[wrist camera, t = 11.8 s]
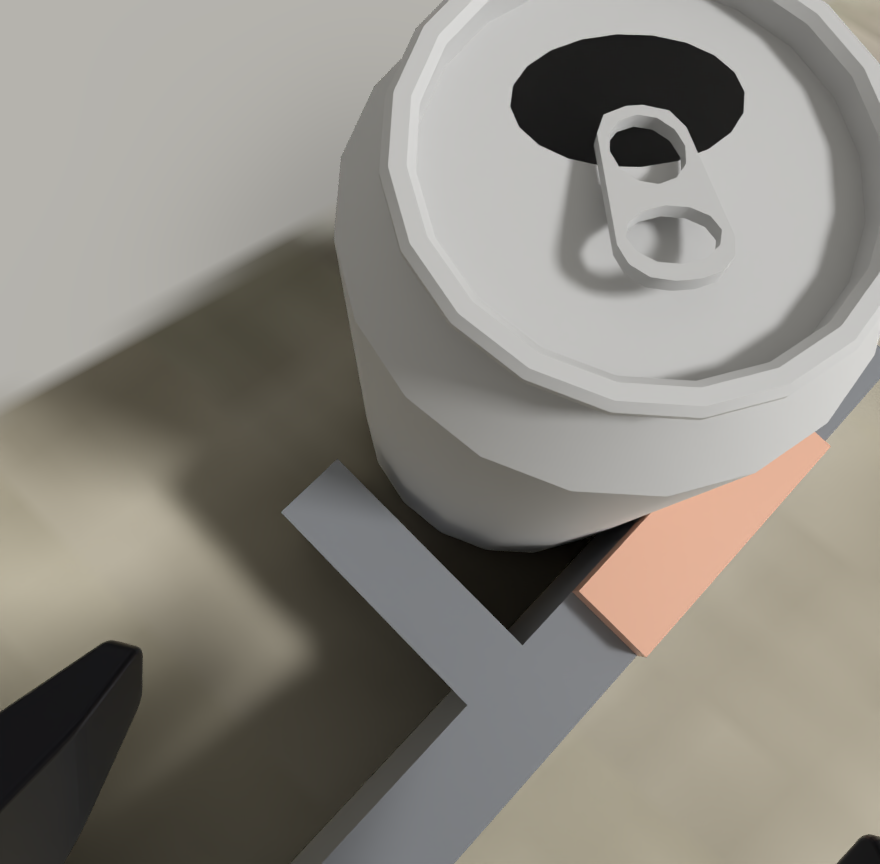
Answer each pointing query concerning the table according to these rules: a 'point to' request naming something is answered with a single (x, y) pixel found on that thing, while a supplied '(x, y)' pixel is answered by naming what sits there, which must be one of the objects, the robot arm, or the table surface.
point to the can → (607, 254)
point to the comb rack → (518, 644)
